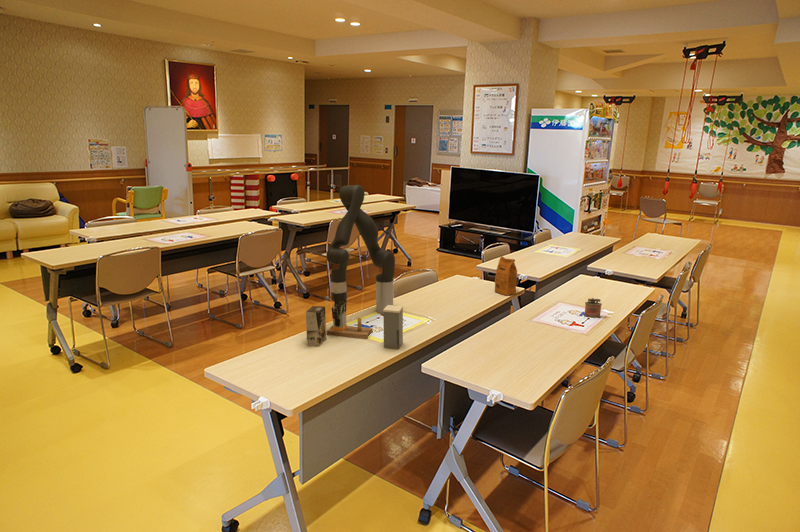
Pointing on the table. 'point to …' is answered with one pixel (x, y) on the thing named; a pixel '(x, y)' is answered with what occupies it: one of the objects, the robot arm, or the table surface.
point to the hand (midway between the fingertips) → (339, 323)
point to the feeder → (393, 326)
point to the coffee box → (316, 325)
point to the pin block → (352, 331)
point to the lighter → (593, 308)
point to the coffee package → (506, 277)
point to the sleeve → (341, 322)
